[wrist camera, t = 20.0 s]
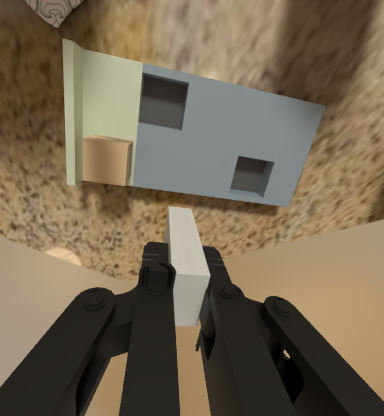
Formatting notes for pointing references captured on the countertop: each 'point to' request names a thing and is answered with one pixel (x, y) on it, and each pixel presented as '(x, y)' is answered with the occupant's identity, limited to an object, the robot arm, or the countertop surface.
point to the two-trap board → (187, 128)
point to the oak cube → (107, 159)
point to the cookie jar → (53, 9)
